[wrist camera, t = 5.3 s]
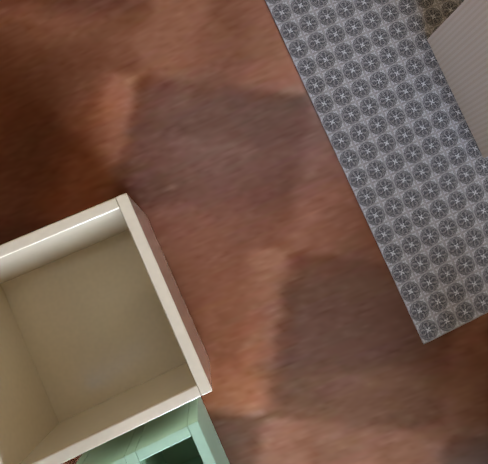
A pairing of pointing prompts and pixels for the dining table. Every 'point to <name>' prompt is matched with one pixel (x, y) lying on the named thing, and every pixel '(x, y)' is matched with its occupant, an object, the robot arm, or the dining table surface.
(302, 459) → the dining table surface
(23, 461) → the beige square open box
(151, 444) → the green compartment organizer
